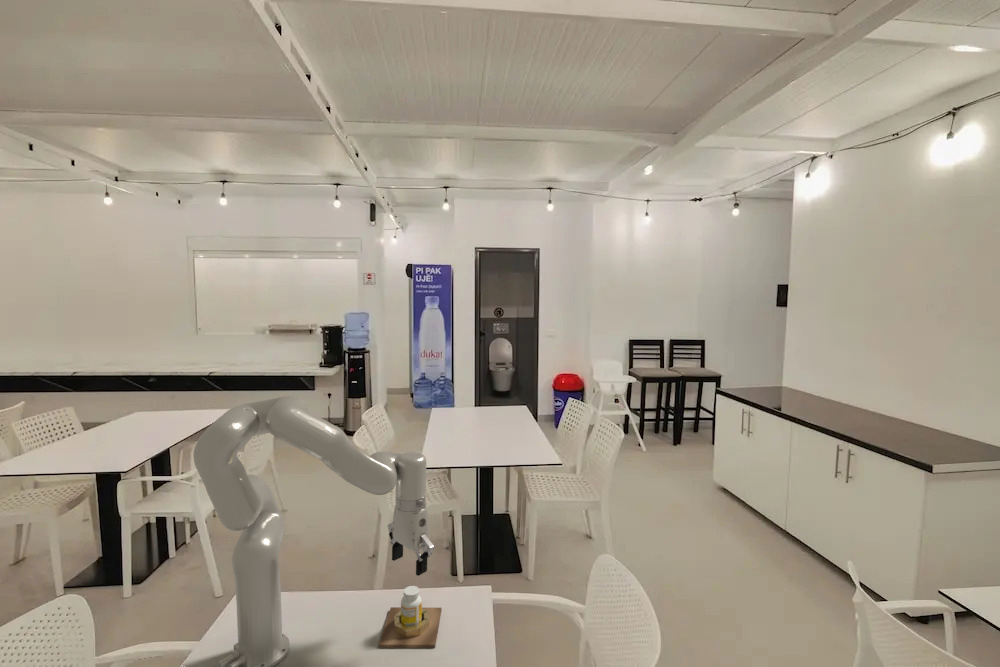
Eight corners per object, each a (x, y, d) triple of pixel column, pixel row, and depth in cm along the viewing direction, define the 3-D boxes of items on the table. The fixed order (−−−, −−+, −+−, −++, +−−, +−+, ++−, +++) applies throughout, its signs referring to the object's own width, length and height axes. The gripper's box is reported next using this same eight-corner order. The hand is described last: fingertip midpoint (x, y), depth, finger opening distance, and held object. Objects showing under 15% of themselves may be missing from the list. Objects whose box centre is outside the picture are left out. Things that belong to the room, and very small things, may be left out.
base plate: (378, 647, 119) (378, 644, 119) (390, 610, 133) (390, 607, 133) (435, 647, 119) (435, 644, 119) (441, 610, 133) (441, 607, 133)
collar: (413, 641, 120) (413, 634, 120) (387, 628, 124) (387, 621, 124) (435, 621, 127) (435, 614, 127) (410, 609, 132) (410, 602, 132)
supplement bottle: (409, 635, 122) (408, 599, 121) (396, 625, 126) (396, 590, 125) (426, 625, 126) (425, 590, 125) (413, 615, 130) (413, 581, 129)
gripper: (444, 507, 120) (442, 573, 122) (401, 488, 131) (400, 548, 133) (421, 517, 114) (419, 586, 116) (378, 496, 126) (377, 558, 127)
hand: (409, 565), depth 124 cm, fingers open, 9 cm apart
